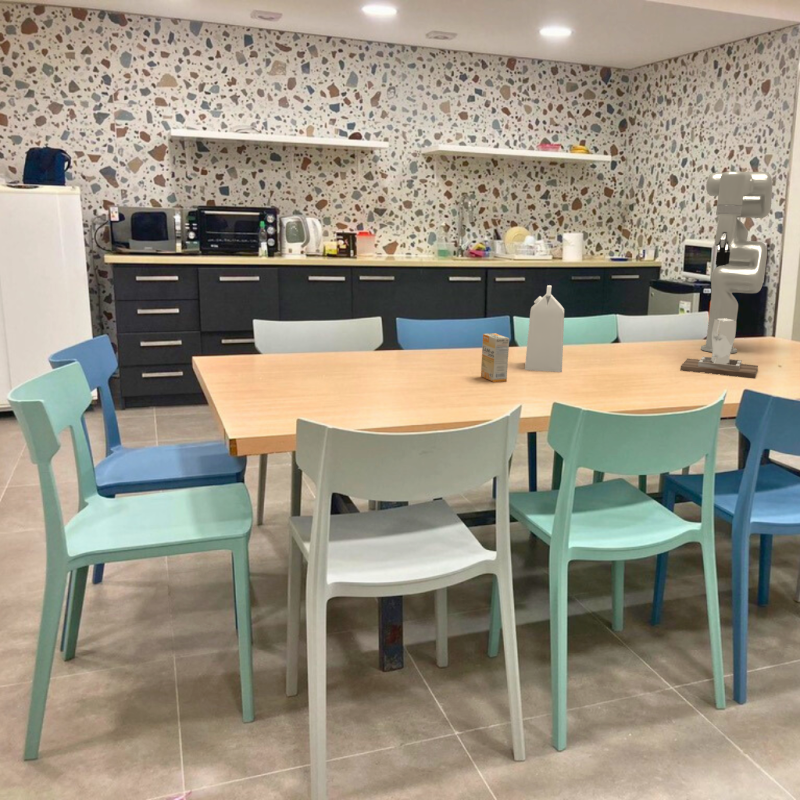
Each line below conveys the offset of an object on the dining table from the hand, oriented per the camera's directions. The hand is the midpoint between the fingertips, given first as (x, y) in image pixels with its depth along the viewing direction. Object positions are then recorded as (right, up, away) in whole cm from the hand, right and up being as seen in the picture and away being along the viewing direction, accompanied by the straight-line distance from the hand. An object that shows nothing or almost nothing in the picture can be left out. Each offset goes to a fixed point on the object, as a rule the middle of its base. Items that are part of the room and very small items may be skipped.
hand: (722, 264), depth 251 cm
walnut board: (-3, -35, -4) cm, 36 cm away
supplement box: (-79, -39, -27) cm, 92 cm away
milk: (-61, -35, -7) cm, 70 cm away
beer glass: (-3, -34, -4) cm, 34 cm away
